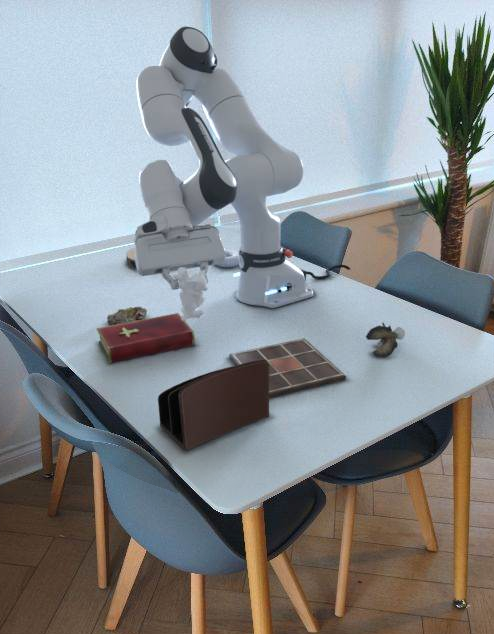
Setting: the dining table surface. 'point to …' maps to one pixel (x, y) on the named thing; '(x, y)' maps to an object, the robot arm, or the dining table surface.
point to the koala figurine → (191, 293)
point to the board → (292, 366)
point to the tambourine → (131, 258)
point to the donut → (230, 259)
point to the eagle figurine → (385, 339)
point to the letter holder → (215, 403)
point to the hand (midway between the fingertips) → (190, 286)
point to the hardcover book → (145, 337)
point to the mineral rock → (127, 315)
